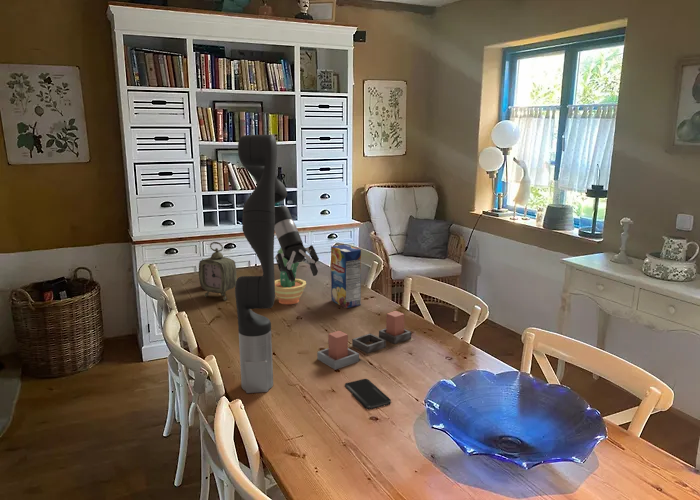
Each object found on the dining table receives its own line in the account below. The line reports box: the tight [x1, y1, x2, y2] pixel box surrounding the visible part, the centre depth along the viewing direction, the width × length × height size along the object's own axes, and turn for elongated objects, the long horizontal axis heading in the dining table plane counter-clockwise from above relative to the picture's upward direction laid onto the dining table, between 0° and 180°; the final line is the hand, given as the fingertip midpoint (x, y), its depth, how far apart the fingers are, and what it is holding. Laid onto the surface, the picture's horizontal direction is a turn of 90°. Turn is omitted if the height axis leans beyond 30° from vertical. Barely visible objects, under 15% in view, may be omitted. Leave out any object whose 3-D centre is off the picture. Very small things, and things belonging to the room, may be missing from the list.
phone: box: [344, 378, 392, 410], centre depth 151 cm, size 8×1×15 cm
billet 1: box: [327, 330, 349, 360], centre depth 171 cm, size 4×4×9 cm
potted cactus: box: [275, 246, 307, 305], centre depth 227 cm, size 15×15×25 cm
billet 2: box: [385, 310, 405, 336], centre depth 186 cm, size 4×4×9 cm
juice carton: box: [330, 244, 362, 309], centre depth 225 cm, size 12×8×24 cm, turn 32°
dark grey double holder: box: [348, 328, 416, 357], centre depth 183 cm, size 21×11×4 cm, turn 128°
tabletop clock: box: [198, 241, 238, 301], centre depth 233 cm, size 14×9×25 cm, turn 62°
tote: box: [317, 347, 360, 371], centre depth 172 cm, size 10×10×3 cm
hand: (304, 277), depth 180 cm, fingers open, 8 cm apart
